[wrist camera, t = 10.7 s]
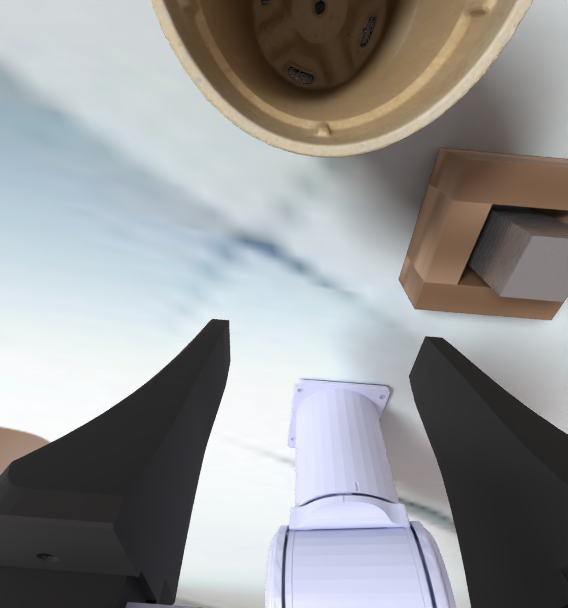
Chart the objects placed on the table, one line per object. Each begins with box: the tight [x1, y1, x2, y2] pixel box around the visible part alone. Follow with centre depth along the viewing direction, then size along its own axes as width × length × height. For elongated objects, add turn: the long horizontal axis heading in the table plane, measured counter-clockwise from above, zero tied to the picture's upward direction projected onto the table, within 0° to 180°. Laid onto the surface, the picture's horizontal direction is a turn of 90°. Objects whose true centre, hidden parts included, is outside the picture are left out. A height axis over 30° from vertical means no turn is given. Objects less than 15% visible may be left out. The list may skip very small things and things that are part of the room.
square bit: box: [467, 204, 568, 302], centre depth 16 cm, size 3×3×6 cm
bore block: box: [399, 148, 568, 320], centre depth 17 cm, size 8×8×4 cm
